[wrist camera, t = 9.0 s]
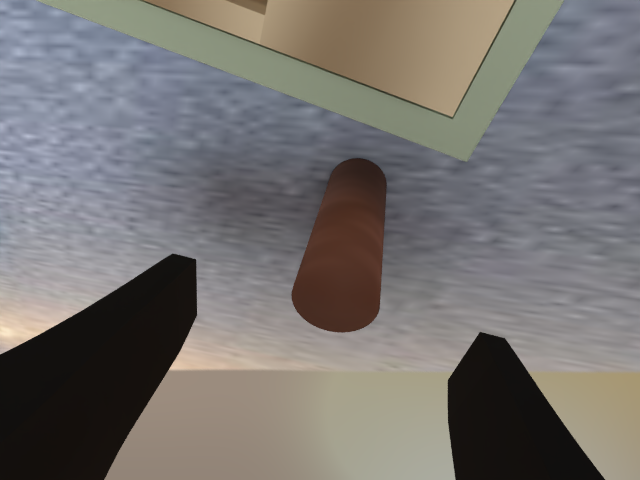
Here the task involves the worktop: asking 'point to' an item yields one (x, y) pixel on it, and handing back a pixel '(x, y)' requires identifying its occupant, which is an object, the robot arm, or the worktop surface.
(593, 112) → the worktop surface
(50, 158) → the worktop surface
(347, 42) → the notched tan block
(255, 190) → the worktop surface
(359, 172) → the peg
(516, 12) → the cradle
